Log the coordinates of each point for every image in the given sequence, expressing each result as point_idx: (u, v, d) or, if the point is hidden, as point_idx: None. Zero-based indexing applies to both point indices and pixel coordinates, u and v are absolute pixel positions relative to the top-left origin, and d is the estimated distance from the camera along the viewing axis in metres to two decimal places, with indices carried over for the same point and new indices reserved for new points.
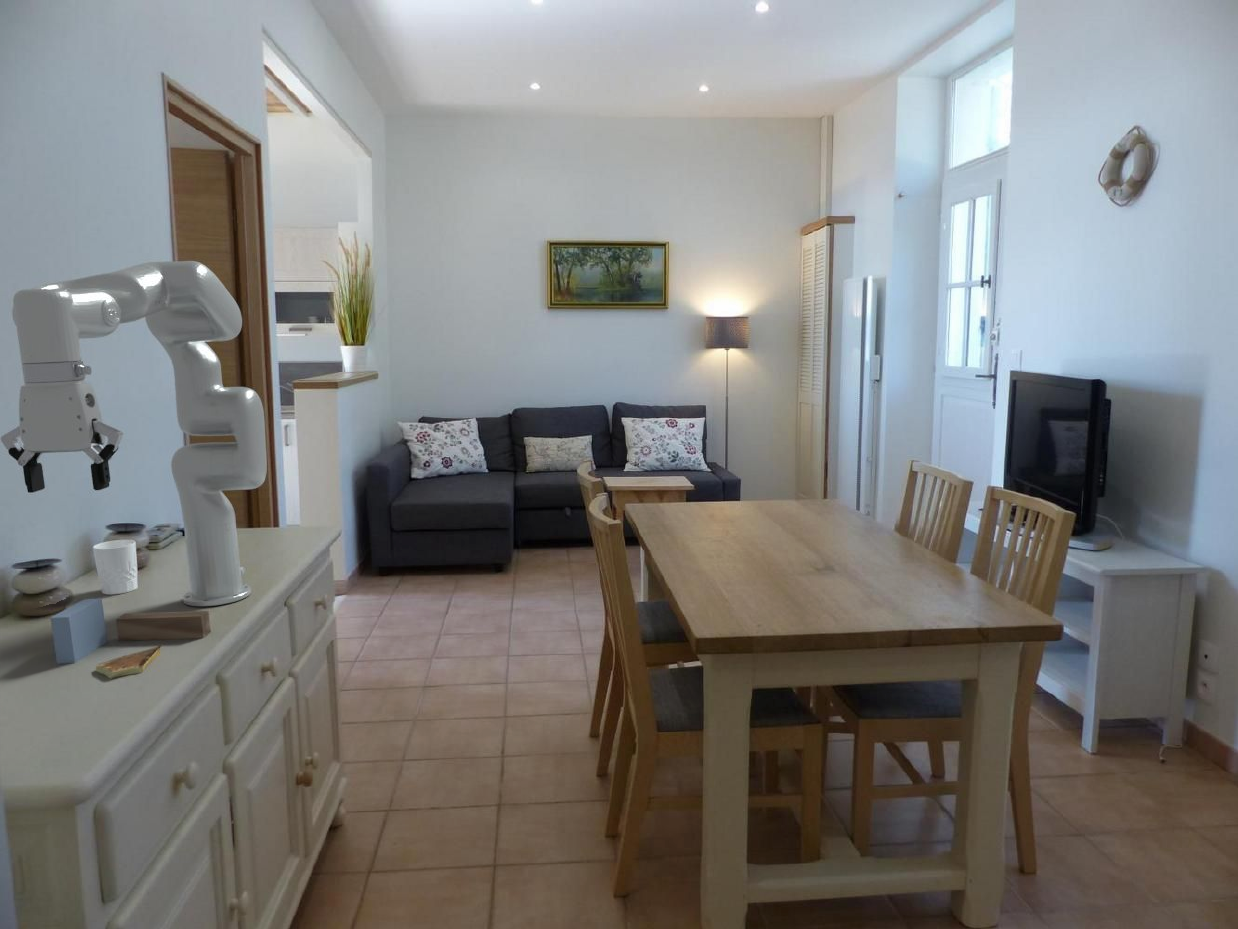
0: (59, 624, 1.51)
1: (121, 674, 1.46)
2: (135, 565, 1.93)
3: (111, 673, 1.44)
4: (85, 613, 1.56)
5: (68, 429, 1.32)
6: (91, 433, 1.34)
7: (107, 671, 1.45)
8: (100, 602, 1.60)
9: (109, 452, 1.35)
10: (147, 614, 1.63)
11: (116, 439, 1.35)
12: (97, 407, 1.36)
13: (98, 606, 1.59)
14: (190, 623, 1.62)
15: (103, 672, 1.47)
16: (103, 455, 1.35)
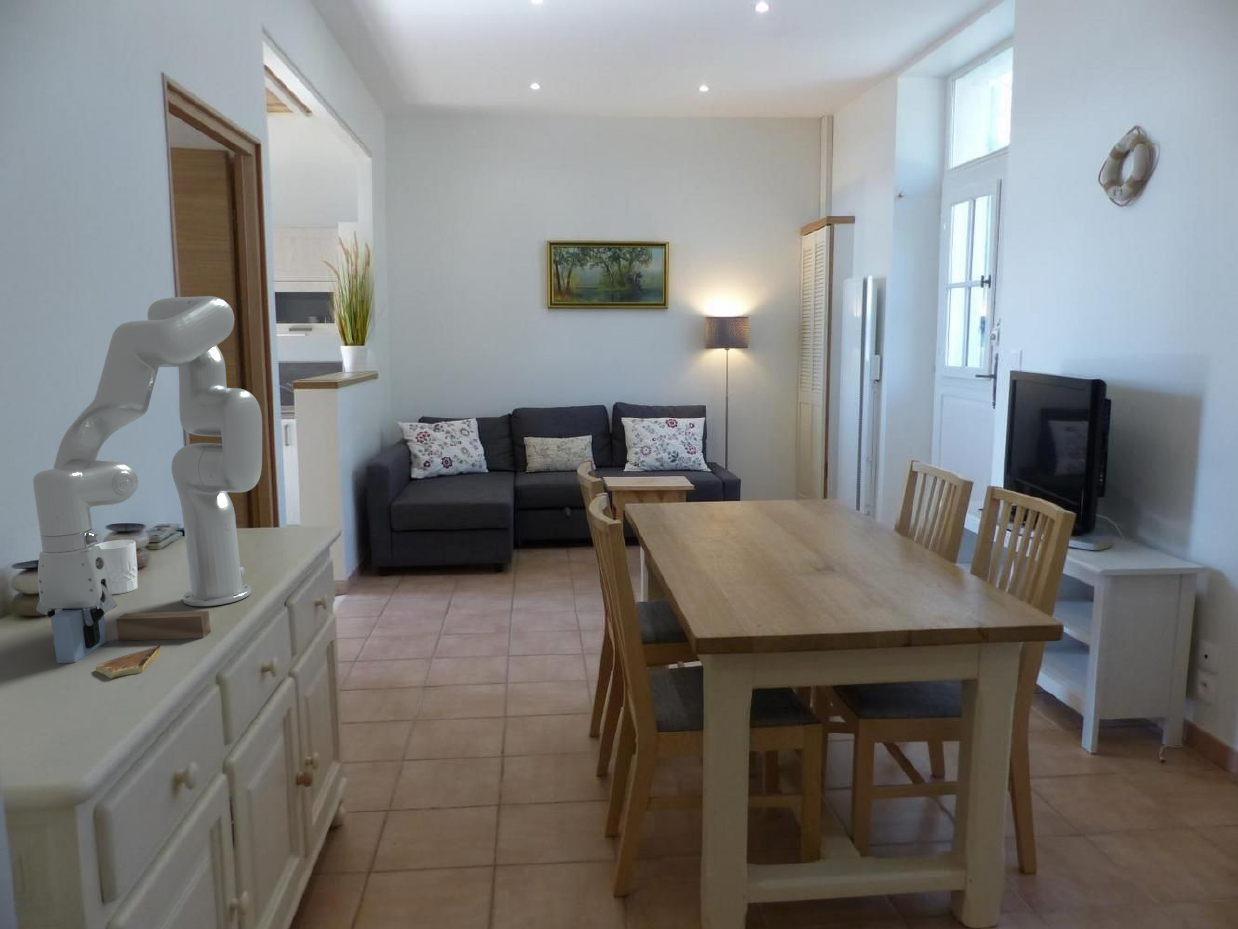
0: (59, 623, 1.51)
1: (121, 674, 1.46)
2: (135, 565, 1.93)
3: (111, 673, 1.44)
4: None
5: (80, 590, 1.53)
6: (100, 592, 1.54)
7: (107, 671, 1.45)
8: (100, 601, 1.60)
9: (99, 616, 1.55)
10: (147, 614, 1.63)
11: (109, 609, 1.55)
12: (105, 567, 1.56)
13: None
14: (190, 623, 1.62)
15: (103, 672, 1.47)
16: (95, 621, 1.55)
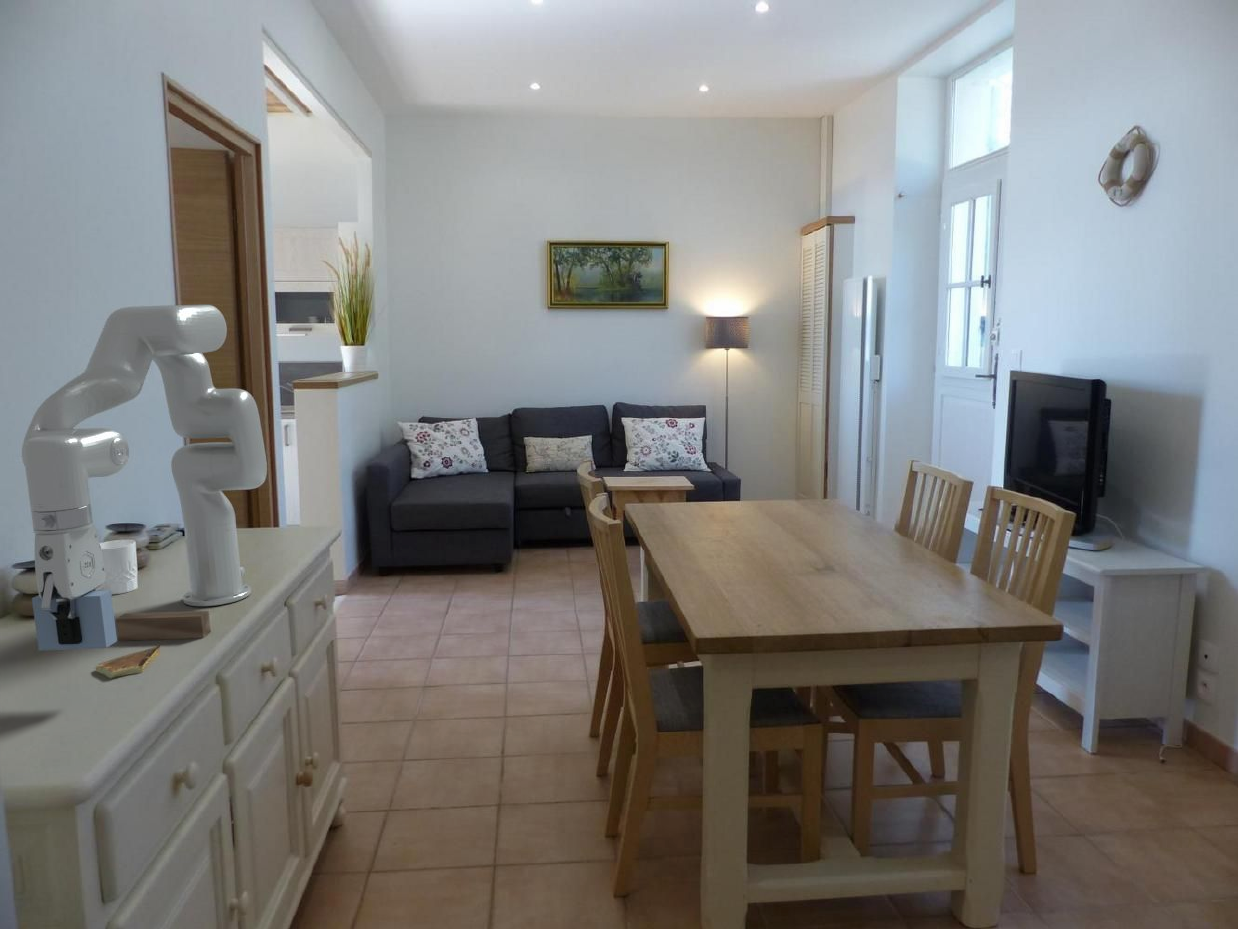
0: None
1: (121, 674, 1.46)
2: (135, 565, 1.93)
3: (111, 673, 1.44)
4: (64, 604, 1.35)
5: None
6: (41, 586, 1.31)
7: (107, 671, 1.45)
8: (97, 599, 1.35)
9: None
10: (147, 614, 1.63)
11: (45, 609, 1.30)
12: (57, 561, 1.30)
13: (91, 603, 1.35)
14: (190, 623, 1.62)
15: (103, 672, 1.47)
16: (55, 616, 1.33)
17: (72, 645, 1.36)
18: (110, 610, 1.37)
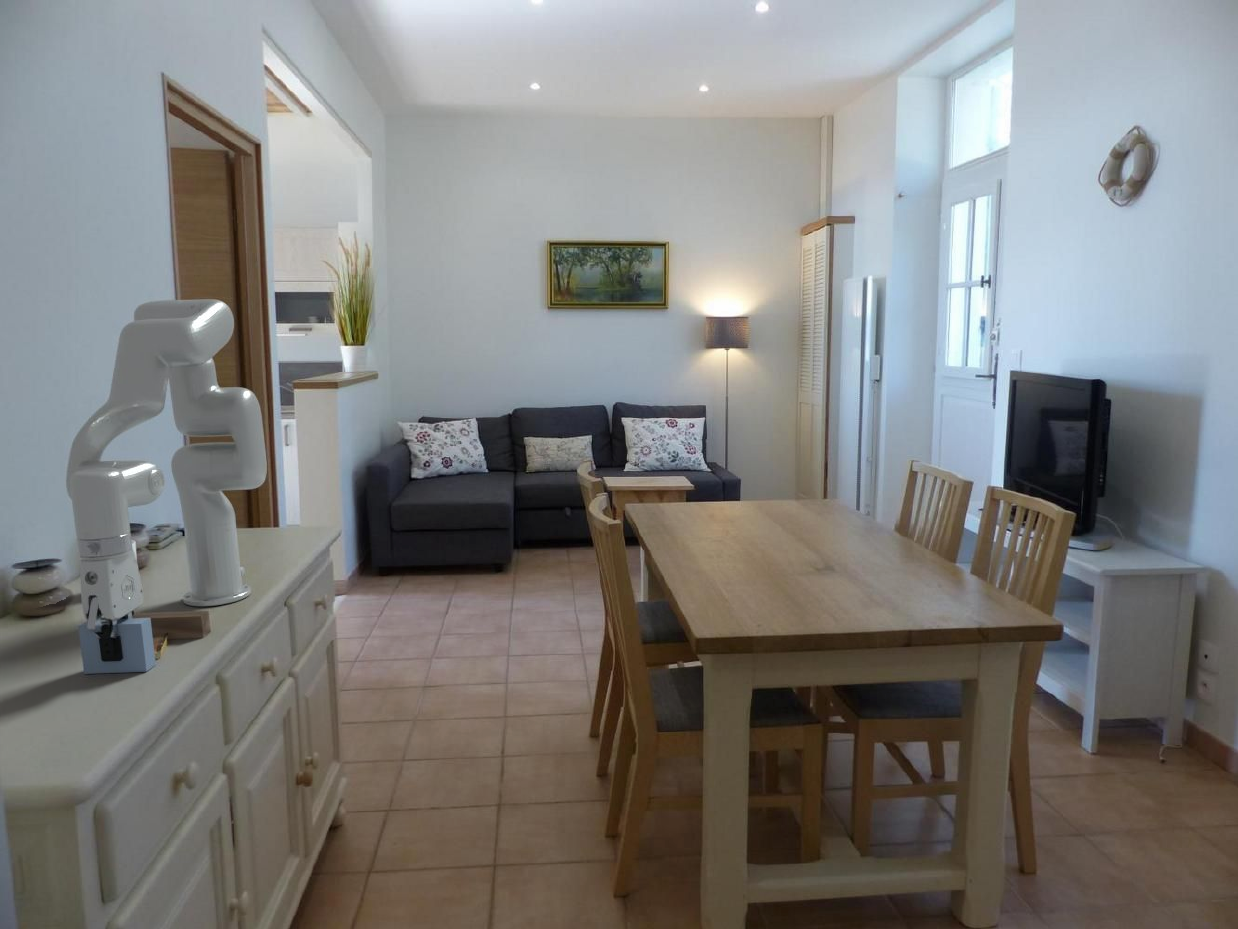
0: None
1: None
2: None
3: None
4: None
5: None
6: (86, 608, 1.42)
7: None
8: (138, 627, 1.46)
9: (95, 632, 1.43)
10: (147, 614, 1.63)
11: None
12: (101, 585, 1.41)
13: (133, 630, 1.46)
14: (190, 623, 1.62)
15: None
16: (99, 636, 1.44)
17: (115, 669, 1.47)
18: (150, 636, 1.48)
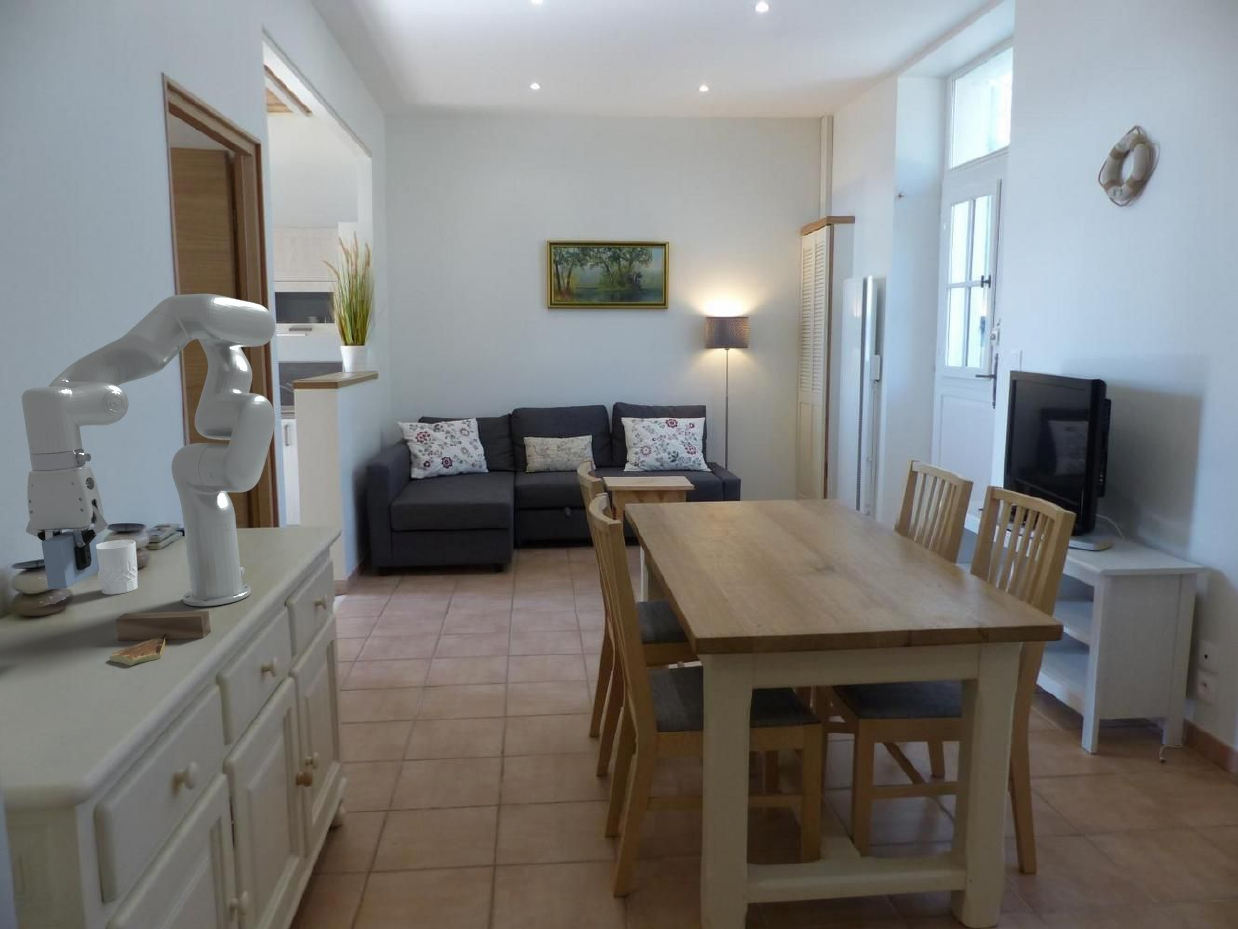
0: (50, 548, 1.49)
1: (140, 661, 1.51)
2: (135, 565, 1.93)
3: (131, 660, 1.50)
4: None
5: (71, 510, 1.50)
6: (91, 512, 1.52)
7: (126, 659, 1.50)
8: None
9: (90, 537, 1.53)
10: (147, 614, 1.63)
11: (100, 530, 1.53)
12: (96, 488, 1.54)
13: None
14: (190, 623, 1.62)
15: (120, 661, 1.51)
16: (86, 542, 1.53)
17: (83, 576, 1.55)
18: None
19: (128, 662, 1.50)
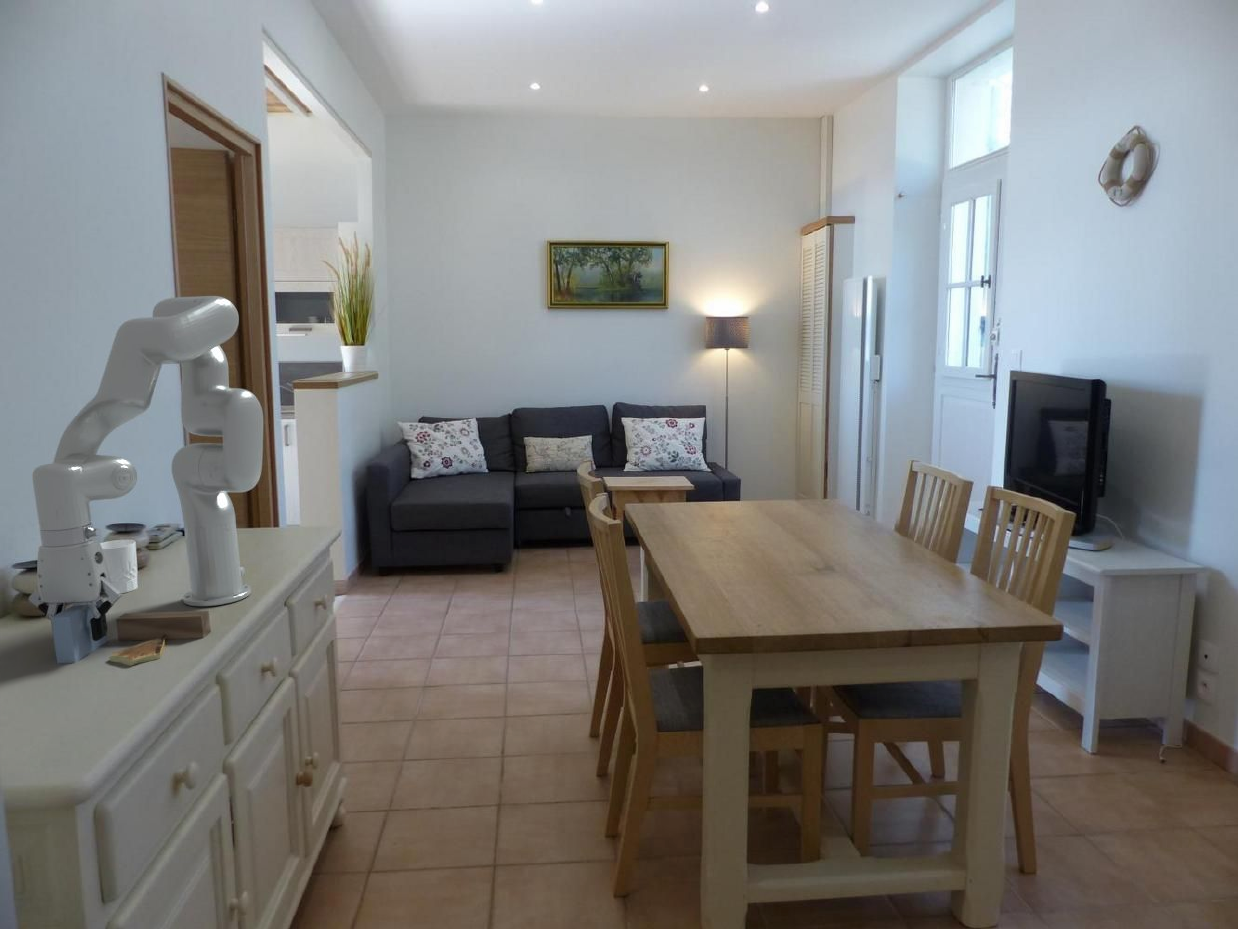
0: (59, 624, 1.51)
1: (140, 662, 1.51)
2: (135, 565, 1.93)
3: (131, 661, 1.50)
4: (85, 613, 1.56)
5: (80, 584, 1.53)
6: (100, 587, 1.54)
7: (125, 659, 1.50)
8: None
9: (106, 608, 1.55)
10: (147, 614, 1.63)
11: (115, 599, 1.55)
12: (105, 562, 1.56)
13: None
14: (190, 623, 1.62)
15: (119, 661, 1.51)
16: (102, 612, 1.55)
17: (91, 648, 1.57)
18: None
19: (128, 662, 1.50)
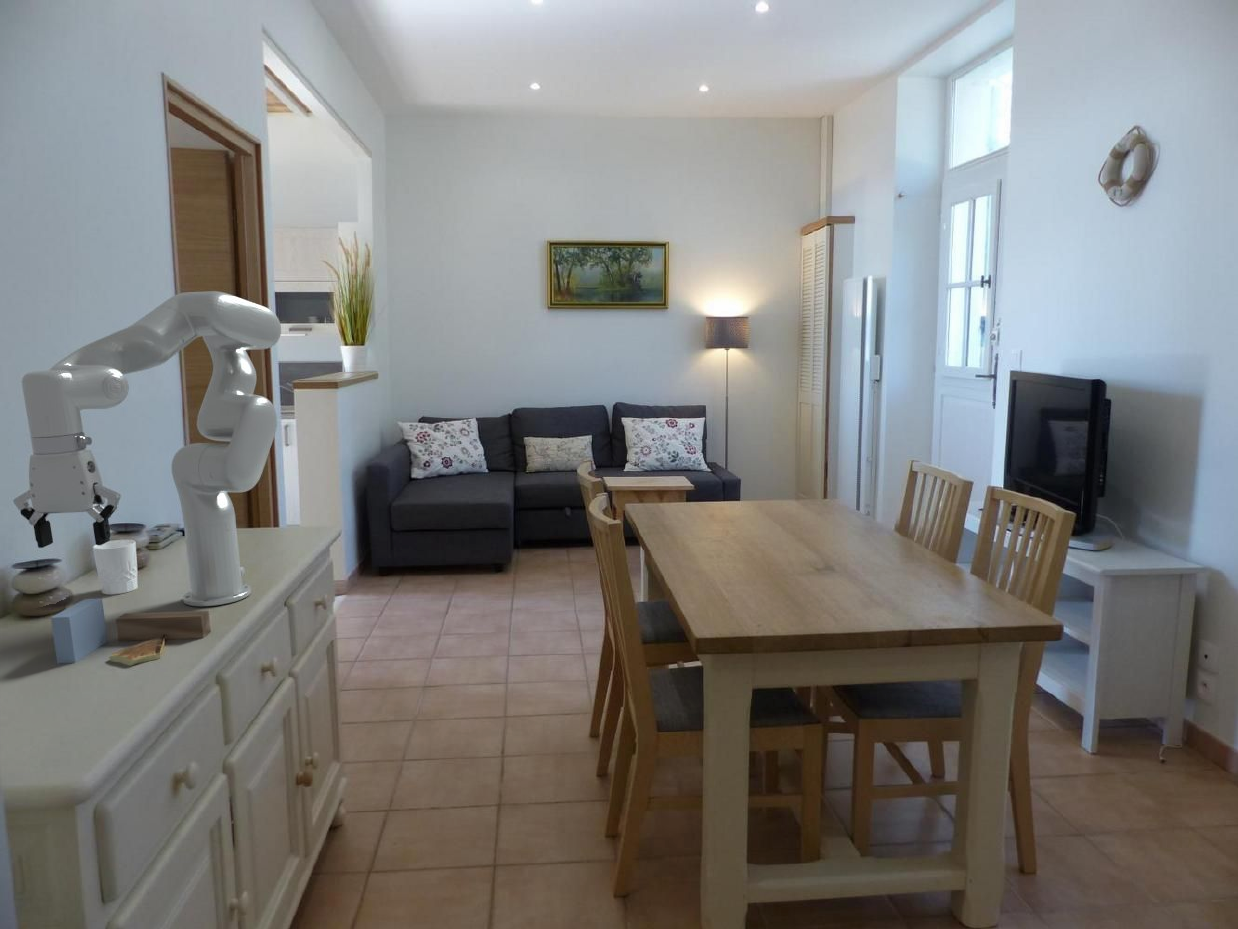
0: (59, 624, 1.51)
1: (140, 661, 1.51)
2: (135, 565, 1.93)
3: (131, 661, 1.50)
4: (85, 613, 1.56)
5: (72, 493, 1.51)
6: (93, 496, 1.52)
7: (125, 659, 1.50)
8: (100, 602, 1.60)
9: (109, 512, 1.53)
10: (147, 614, 1.63)
11: (115, 500, 1.53)
12: (97, 472, 1.54)
13: (98, 606, 1.59)
14: (190, 623, 1.62)
15: (119, 661, 1.51)
16: (103, 514, 1.53)
17: (91, 648, 1.57)
18: None
19: (128, 662, 1.50)
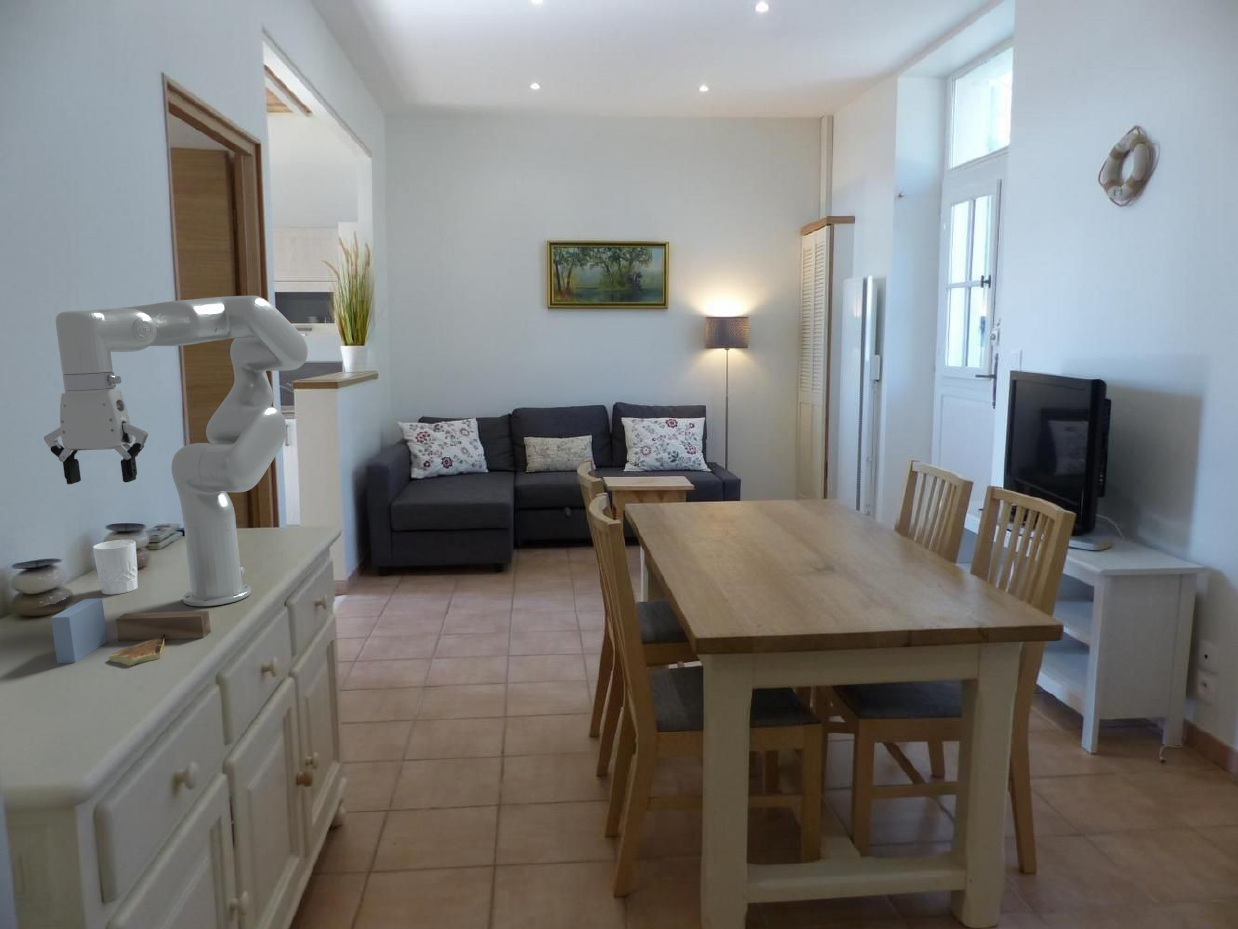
0: (59, 624, 1.51)
1: (139, 661, 1.51)
2: (135, 565, 1.93)
3: (131, 661, 1.50)
4: (85, 613, 1.56)
5: (102, 430, 1.55)
6: (121, 433, 1.57)
7: (125, 659, 1.50)
8: (100, 602, 1.60)
9: (136, 450, 1.58)
10: (147, 614, 1.63)
11: (142, 438, 1.58)
12: (126, 411, 1.59)
13: (98, 606, 1.59)
14: (190, 623, 1.62)
15: (119, 661, 1.51)
16: (131, 452, 1.58)
17: (91, 648, 1.57)
18: None
19: (128, 662, 1.50)
